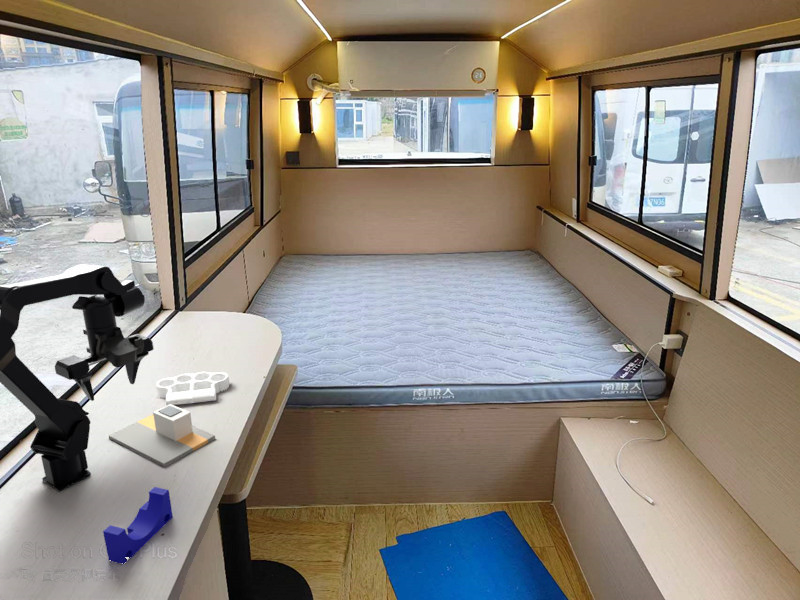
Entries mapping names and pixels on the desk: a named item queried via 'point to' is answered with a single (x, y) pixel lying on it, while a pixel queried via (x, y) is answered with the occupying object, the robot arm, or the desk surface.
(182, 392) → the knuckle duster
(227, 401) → the desk surface
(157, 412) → the white block
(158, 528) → the blue cradle bracket
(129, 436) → the grey flat board
